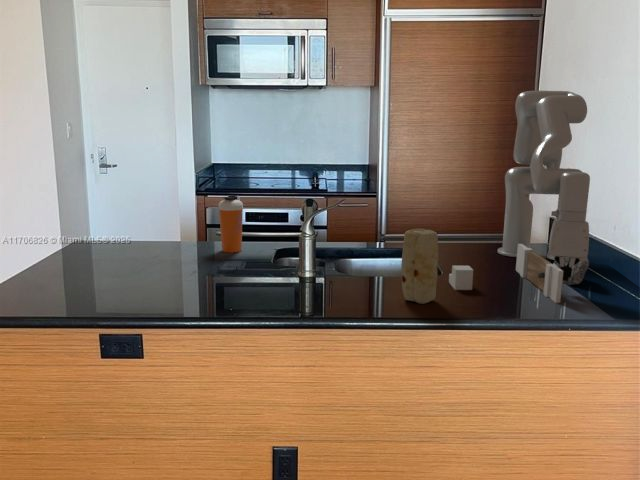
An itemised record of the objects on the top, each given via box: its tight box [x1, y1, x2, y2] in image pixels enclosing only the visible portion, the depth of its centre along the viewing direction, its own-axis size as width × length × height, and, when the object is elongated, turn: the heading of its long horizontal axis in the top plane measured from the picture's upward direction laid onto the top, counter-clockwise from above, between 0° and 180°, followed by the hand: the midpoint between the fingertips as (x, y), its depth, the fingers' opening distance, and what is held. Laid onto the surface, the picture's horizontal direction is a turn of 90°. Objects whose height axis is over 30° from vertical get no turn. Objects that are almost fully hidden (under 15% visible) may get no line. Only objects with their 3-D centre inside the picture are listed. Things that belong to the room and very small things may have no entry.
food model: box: [400, 228, 439, 305], centre depth 158 cm, size 10×7×20 cm
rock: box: [552, 257, 590, 286], centre depth 180 cm, size 16×8×10 cm, turn 173°
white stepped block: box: [448, 265, 474, 291], centre depth 174 cm, size 8×5×6 cm, turn 0°
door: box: [525, 250, 553, 292], centre depth 174 cm, size 3×16×9 cm, turn 0°
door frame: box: [515, 244, 563, 304], centre depth 174 cm, size 2×33×9 cm, turn 0°
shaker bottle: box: [218, 195, 244, 254], centre depth 213 cm, size 9×9×20 cm
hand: (564, 279), depth 167 cm, fingers closed
